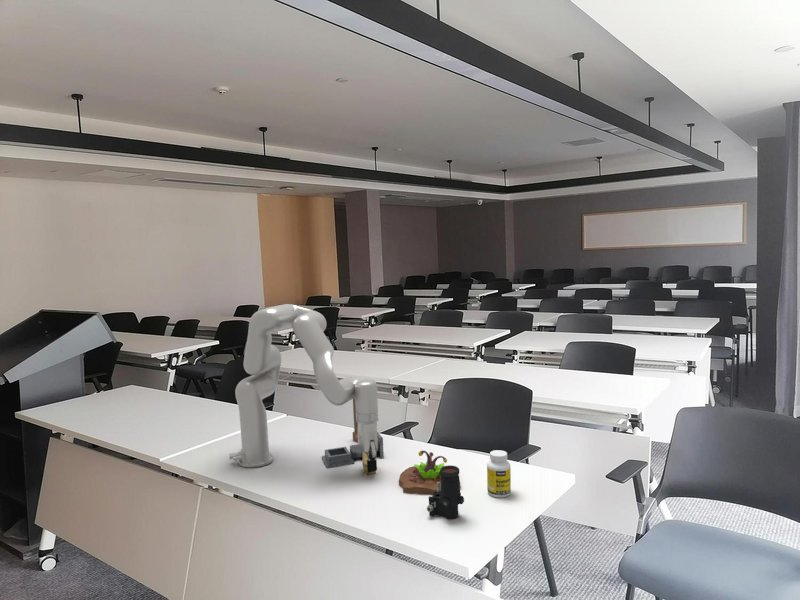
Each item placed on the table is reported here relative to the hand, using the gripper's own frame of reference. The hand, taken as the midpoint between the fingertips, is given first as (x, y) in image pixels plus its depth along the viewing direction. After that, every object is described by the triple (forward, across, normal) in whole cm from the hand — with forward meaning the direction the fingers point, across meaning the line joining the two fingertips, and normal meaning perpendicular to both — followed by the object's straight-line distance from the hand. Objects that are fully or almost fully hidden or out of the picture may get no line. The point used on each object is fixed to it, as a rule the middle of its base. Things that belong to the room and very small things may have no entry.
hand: (369, 467), depth 196 cm
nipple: (+2, 0, 0) cm, 2 cm away
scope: (+2, +38, +13) cm, 40 cm away
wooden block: (+2, -30, +6) cm, 31 cm away
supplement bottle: (+2, +31, +33) cm, 45 cm away
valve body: (+2, -15, -2) cm, 15 cm away
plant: (+3, +15, +16) cm, 22 cm away
